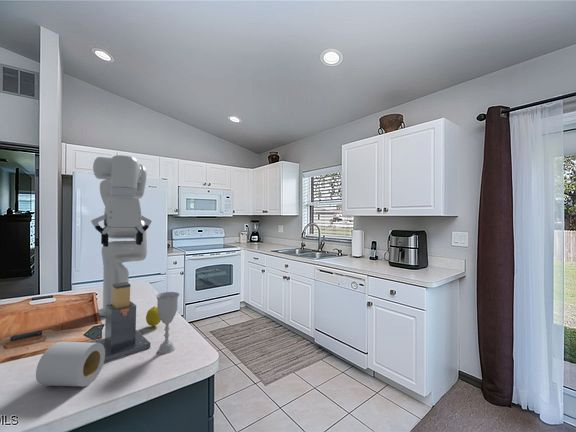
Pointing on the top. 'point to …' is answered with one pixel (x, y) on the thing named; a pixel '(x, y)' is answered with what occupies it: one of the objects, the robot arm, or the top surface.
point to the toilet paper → (70, 364)
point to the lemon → (153, 317)
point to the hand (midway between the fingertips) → (122, 245)
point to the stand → (121, 333)
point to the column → (121, 295)
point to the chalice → (167, 316)
